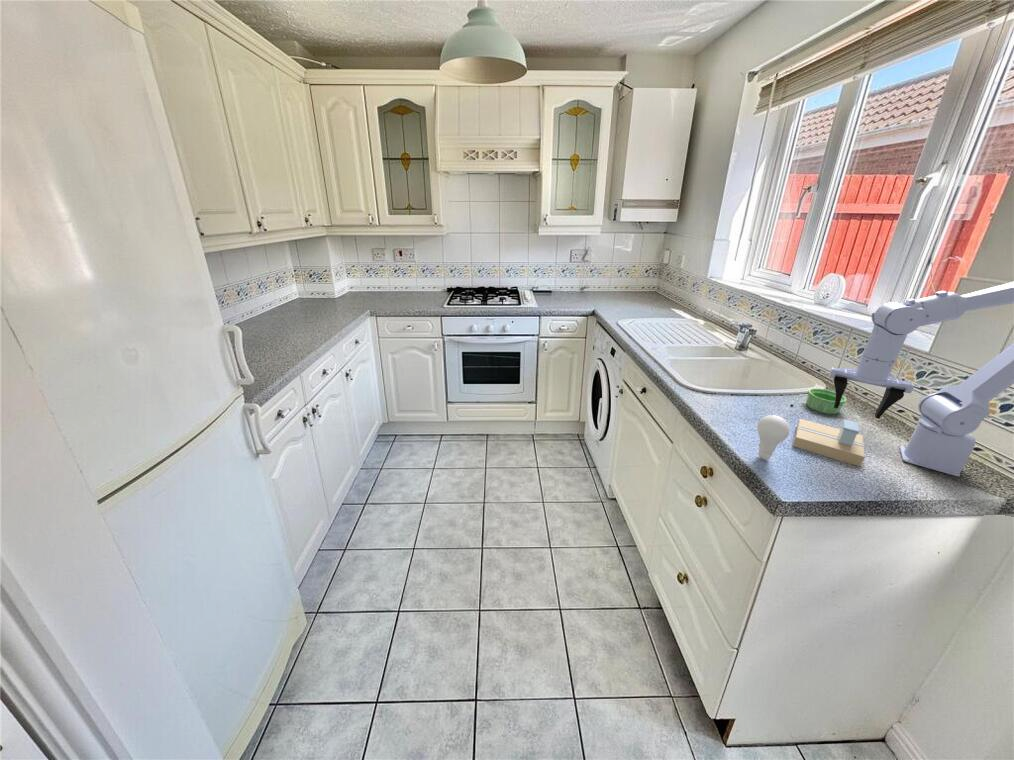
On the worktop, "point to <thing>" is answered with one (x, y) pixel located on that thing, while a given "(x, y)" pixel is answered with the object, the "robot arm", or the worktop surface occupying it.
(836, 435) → the carton
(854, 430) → the tab
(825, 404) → the ramekin
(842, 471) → the worktop surface
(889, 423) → the worktop surface
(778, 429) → the lightbulb
